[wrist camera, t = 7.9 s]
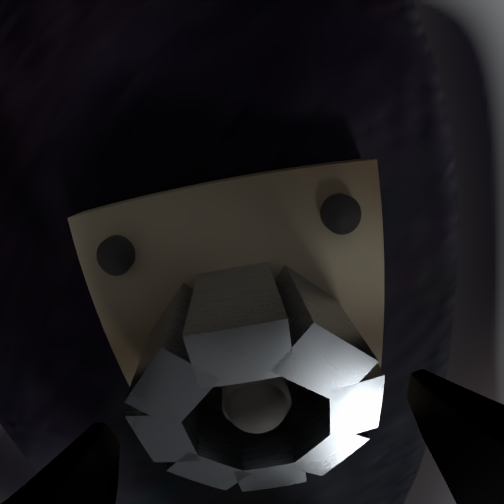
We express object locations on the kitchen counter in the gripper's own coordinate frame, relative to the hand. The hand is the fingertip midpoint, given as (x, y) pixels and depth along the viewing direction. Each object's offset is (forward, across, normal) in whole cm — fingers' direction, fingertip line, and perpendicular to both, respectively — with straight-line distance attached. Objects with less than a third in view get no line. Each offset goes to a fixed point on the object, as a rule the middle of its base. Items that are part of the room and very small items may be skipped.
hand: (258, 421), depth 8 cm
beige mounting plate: (+4, 0, 0) cm, 4 cm away
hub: (+3, 0, 0) cm, 3 cm away
